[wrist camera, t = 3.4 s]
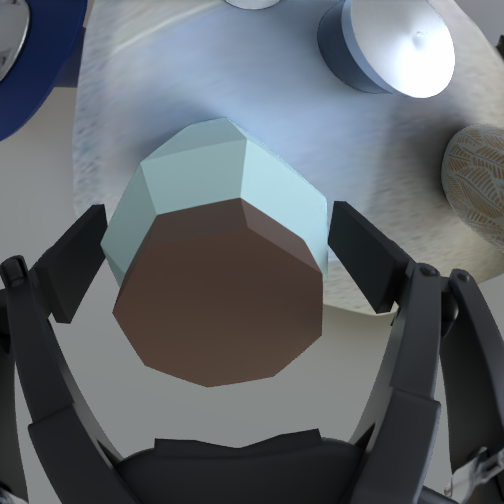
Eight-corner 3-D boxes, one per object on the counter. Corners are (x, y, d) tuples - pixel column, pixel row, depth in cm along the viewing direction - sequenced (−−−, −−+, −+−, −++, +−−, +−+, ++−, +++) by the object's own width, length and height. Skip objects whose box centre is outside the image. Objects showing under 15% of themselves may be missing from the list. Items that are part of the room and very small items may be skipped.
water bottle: (203, 217, 33) (198, 424, 11) (153, 150, 28) (15, 290, 6) (276, 172, 31) (399, 335, 10) (229, 99, 26) (291, 70, 5)
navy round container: (316, -10, 20) (348, -38, 12) (406, 20, 22) (451, 11, 14) (313, 83, 26) (348, 78, 18) (404, 104, 28) (452, 112, 20)
